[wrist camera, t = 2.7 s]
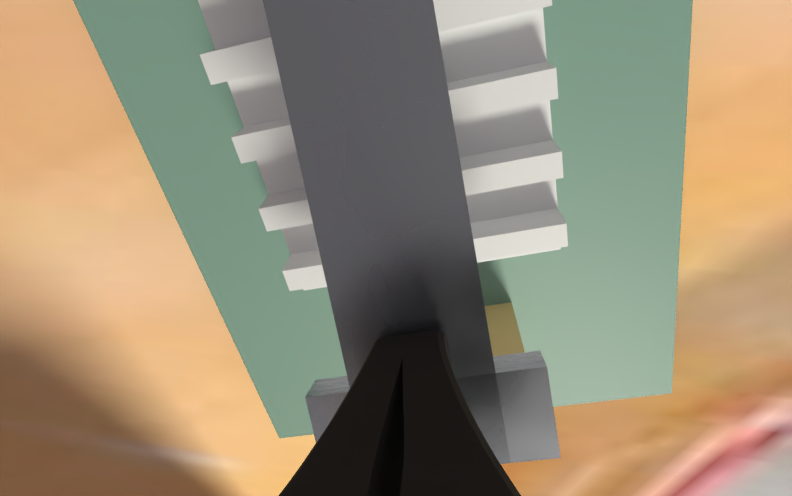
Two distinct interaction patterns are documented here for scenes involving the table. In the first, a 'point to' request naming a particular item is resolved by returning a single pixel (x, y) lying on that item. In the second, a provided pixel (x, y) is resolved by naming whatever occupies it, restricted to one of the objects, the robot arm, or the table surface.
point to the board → (481, 168)
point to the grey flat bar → (396, 207)
